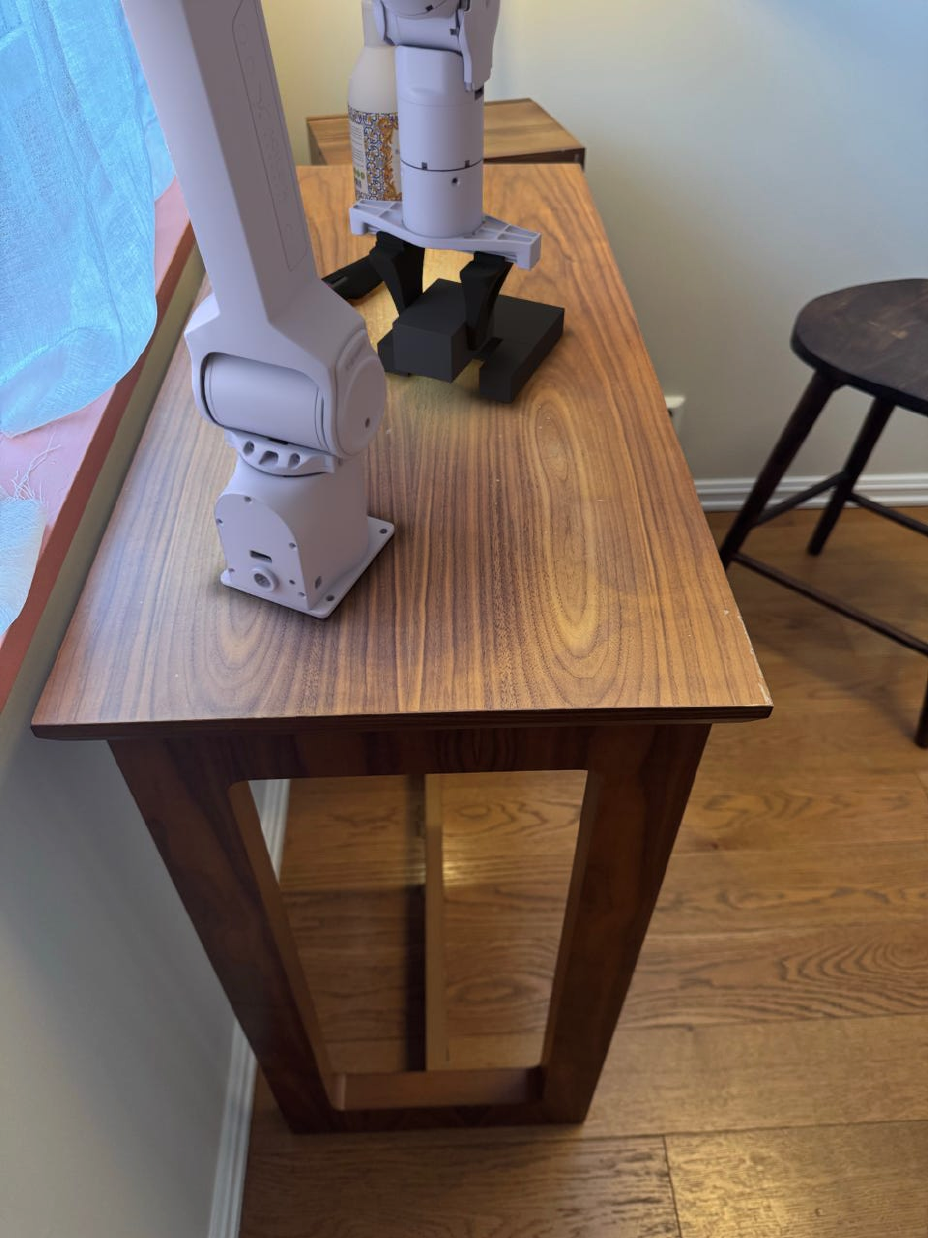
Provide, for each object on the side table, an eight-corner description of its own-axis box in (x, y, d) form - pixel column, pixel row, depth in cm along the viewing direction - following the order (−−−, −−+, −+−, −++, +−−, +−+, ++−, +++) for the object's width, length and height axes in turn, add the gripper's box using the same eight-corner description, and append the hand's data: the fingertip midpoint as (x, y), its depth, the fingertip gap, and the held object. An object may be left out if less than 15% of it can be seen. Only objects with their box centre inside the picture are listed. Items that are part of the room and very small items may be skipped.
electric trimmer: (410, 279, 88) (409, 247, 86) (296, 343, 79) (291, 309, 77) (381, 268, 90) (379, 236, 87) (266, 330, 81) (260, 296, 79)
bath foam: (387, 240, 93) (372, 12, 79) (344, 220, 97) (323, -3, 82) (436, 220, 97) (431, -2, 82) (393, 201, 100) (381, -16, 86)
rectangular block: (439, 322, 76) (438, 277, 74) (494, 335, 75) (494, 289, 72) (394, 369, 71) (391, 322, 69) (452, 384, 70) (451, 336, 67)
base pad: (510, 403, 73) (511, 376, 71) (378, 370, 77) (376, 343, 75) (563, 334, 80) (565, 307, 79) (441, 306, 84) (440, 280, 82)
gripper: (562, 151, 63) (549, 332, 73) (376, 121, 67) (388, 296, 77) (522, 189, 58) (514, 376, 68) (327, 154, 62) (346, 335, 72)
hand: (445, 336), depth 72 cm, fingers closed on rectangular block, 5 cm apart
